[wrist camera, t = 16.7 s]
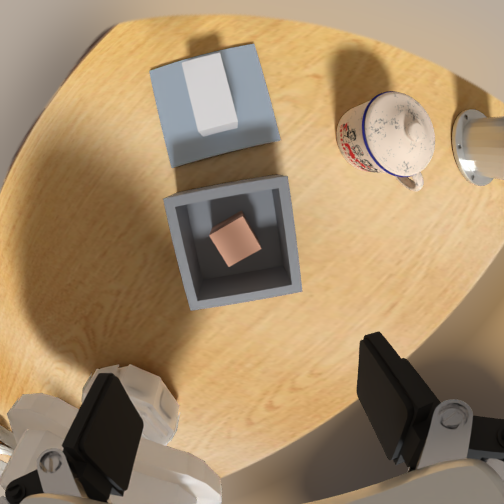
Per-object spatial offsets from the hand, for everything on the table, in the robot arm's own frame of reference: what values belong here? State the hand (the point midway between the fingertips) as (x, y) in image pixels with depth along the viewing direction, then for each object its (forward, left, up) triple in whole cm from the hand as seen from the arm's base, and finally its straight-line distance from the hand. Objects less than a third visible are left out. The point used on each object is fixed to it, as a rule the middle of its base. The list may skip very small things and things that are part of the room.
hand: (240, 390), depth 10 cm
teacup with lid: (-19, -8, -26) cm, 34 cm away
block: (0, 0, -25) cm, 25 cm away
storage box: (0, 0, -26) cm, 26 cm away
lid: (0, -16, -27) cm, 31 cm away
